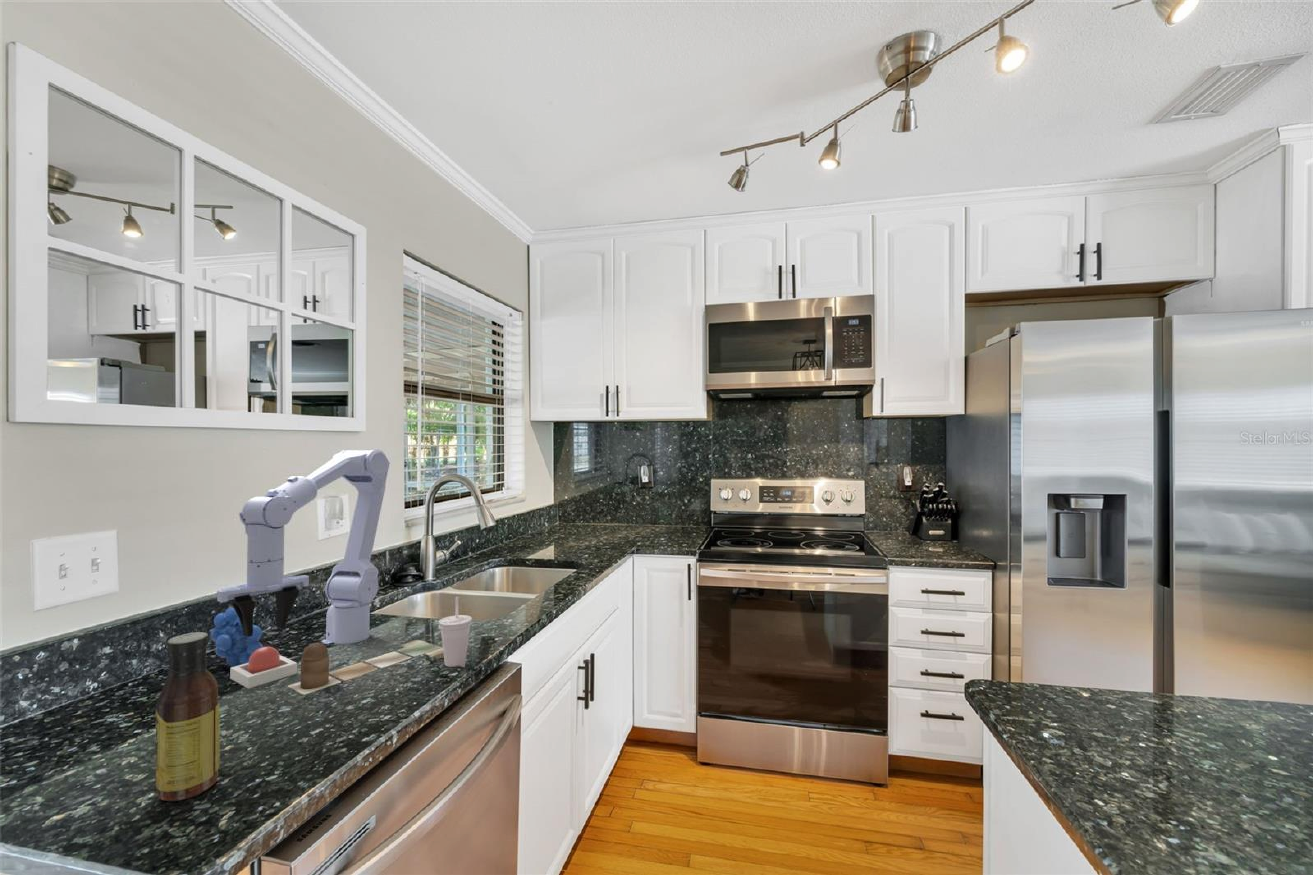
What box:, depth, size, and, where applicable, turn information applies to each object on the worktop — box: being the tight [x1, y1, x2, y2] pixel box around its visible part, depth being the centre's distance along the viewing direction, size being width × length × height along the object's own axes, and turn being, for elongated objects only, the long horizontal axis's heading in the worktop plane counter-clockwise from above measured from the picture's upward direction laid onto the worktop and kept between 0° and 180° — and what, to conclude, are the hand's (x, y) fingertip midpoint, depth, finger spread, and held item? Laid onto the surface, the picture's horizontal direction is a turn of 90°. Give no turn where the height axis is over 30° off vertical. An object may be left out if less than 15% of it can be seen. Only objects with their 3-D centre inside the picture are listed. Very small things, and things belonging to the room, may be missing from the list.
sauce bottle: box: [155, 631, 220, 802], centre depth 71 cm, size 7×6×20 cm
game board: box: [286, 639, 444, 696], centre depth 109 cm, size 12×28×1 cm, turn 147°
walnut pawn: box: [299, 642, 330, 689], centre depth 100 cm, size 4×4×7 cm
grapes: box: [210, 606, 264, 668], centre depth 109 cm, size 12×7×12 cm, turn 79°
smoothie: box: [438, 596, 473, 668], centre depth 110 cm, size 6×6×14 cm
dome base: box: [229, 654, 298, 690], centre depth 104 cm, size 8×8×3 cm
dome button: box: [248, 646, 280, 674], centre depth 104 cm, size 5×5×5 cm
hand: (264, 631), depth 104 cm, fingers open, 5 cm apart
